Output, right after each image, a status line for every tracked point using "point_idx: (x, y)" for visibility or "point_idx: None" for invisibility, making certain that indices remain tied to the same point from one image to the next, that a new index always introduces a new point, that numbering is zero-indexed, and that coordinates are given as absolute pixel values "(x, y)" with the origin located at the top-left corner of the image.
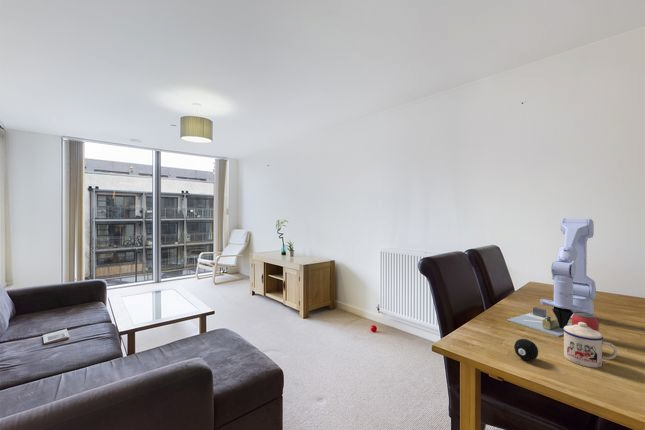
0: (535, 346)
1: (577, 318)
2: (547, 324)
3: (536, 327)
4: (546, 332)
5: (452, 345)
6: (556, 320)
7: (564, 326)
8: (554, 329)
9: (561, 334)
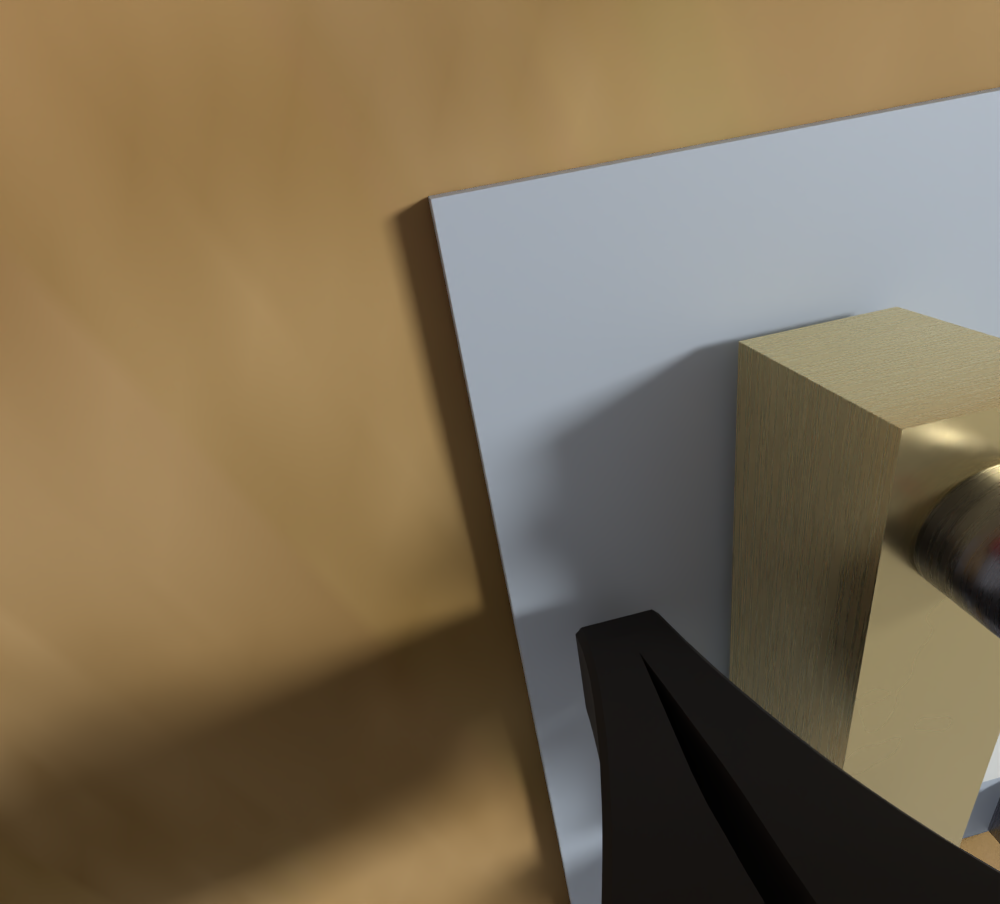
0: None
1: None
2: (873, 365)
3: (987, 196)
4: (715, 142)
5: None
6: (821, 745)
7: (589, 683)
8: (700, 501)
9: (463, 370)
